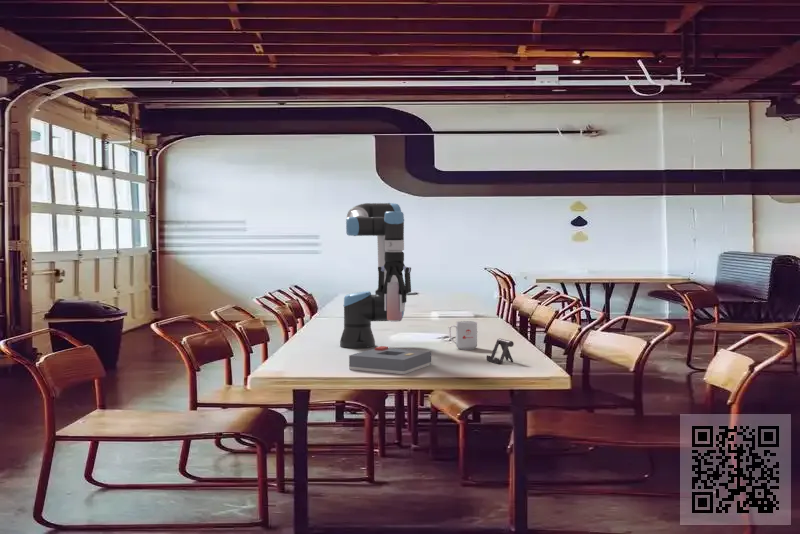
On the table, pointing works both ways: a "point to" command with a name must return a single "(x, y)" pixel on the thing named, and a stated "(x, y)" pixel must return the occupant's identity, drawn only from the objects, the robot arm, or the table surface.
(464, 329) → the mug
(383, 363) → the socket
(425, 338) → the table surface
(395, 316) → the beverage can
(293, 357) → the table surface
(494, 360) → the portable electronic device stand
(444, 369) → the table surface
